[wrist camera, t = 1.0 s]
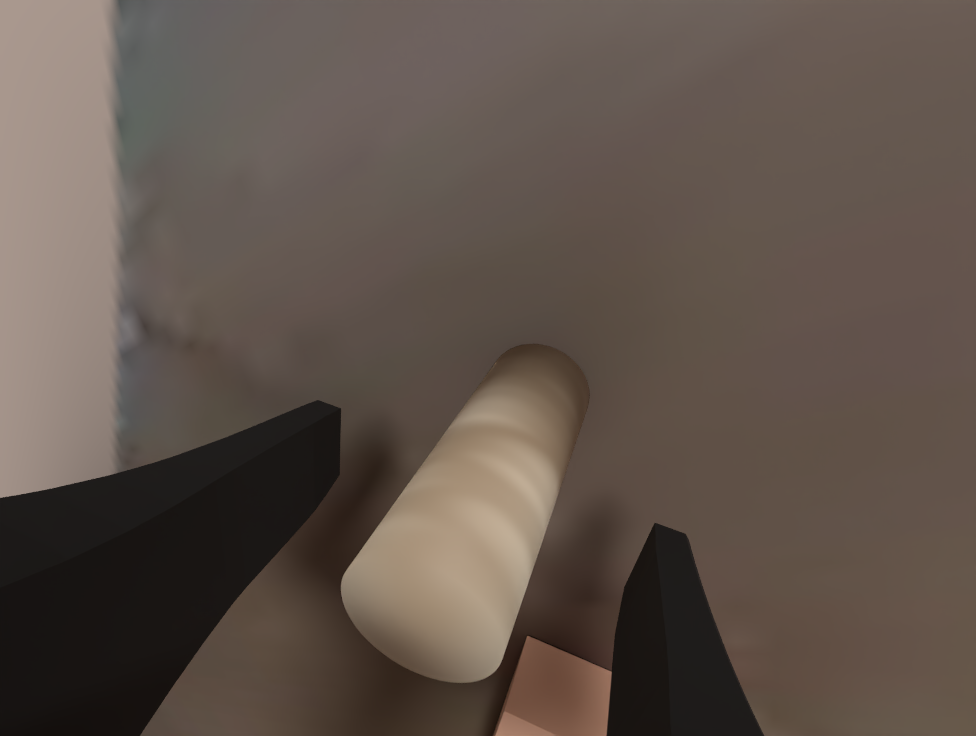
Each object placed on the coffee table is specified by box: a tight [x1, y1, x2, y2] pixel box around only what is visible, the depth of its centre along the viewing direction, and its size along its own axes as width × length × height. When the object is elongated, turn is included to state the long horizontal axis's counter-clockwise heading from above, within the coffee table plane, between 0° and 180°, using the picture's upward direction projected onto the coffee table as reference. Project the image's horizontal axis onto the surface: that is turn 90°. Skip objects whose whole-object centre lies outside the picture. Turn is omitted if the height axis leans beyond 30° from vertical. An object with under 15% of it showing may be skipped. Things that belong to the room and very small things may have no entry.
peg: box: [341, 344, 590, 683], centre depth 12 cm, size 3×3×8 cm
